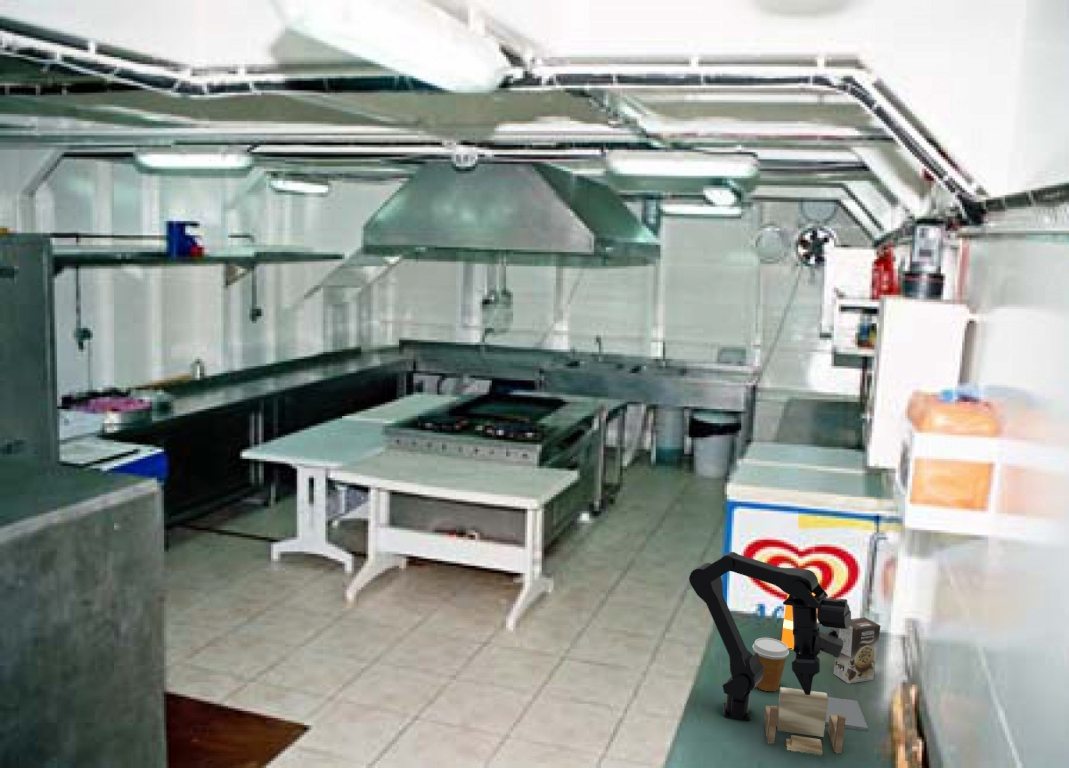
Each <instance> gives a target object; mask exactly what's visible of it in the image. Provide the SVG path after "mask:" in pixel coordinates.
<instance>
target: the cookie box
mask: <svg viewBox="0 0 1069 768" xmlns="http://www.w3.org/2000/svg"><path fill="white" fill-rule="evenodd" d="M838 632H839V633H838V637H839V638H842V640H843V648H842V651H841V654H840V657H839V658H837V657H835V659H834V667H833V675H835V676H836V677H838V678H840V679H841V680H842V681H843V682H845V683H846V684H850V685H851V684H855V683H861V682H867V681H873V680H874V675H875V669H876V660H877V652H878V646H879V640H880V632H881V625H880V624H879V623H876V622H874V621H872V620H870V619H868V618H866V617H859V618H858V617H857V618H851V623H850V627H849V629H840V628H839V631H838Z"/></svg>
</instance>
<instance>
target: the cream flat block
mask: <svg viewBox="0 0 1069 768" xmlns="http://www.w3.org/2000/svg"><path fill="white" fill-rule="evenodd" d="M828 697H829V695H828V694H827V692H822V691H814V690H811V693H810V695H805V693H804V691H803V689H801V688H800V689H799V688H792V687H784V686H779V695H778V705H777V707H778V714H777V723H776V726H777V727H776V730H779V731H778V732H783V733H784V732H785V733H786V732H787V733H791V734H793V733H794V734H799V735H807V736H814V737H815V736H816V737H823V738H824V736H825V729H826V728H825V727H826V725H825V721H826V713H827V705H828Z"/></svg>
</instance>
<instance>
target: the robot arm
mask: <svg viewBox="0 0 1069 768" xmlns="http://www.w3.org/2000/svg"><path fill="white" fill-rule="evenodd" d="M728 572H732V573H736V574H738V575H742V576H745V577H748V578H752V579H754V580H758V581H760V582H764V583H767V584H770V585H773V586H774V587H777V588H779V589H780V590H781V591H782V592H783V593H785V594H787V595H788V594H789V597H788V598H787V597H786V599H785V600H784V601H783V602H782V604H783V606H786V605H790V606H792V616H793V637H794V647H793V648H794V650H793V652H794V655H793V656H792V657H791V671H792V672H793V673H794V675H795V677H796V679H797V680H798V683H799V685H800V687H801V690H803V691H804V693H805V695H810V693H811V691H812V686H813V682H814V681H813V680H814V676H816V675H817V674H819V673H820V672H821V666H820V665H821V664H820V663H821V662H820V657H818V655H819V654H821V652H823V653H825V654H828V655H831V656H832V657H834V658H836V657H837V658H839V657H840V654H841V651H842V648H843V640H842V638H839V633H838V632H839V631H838V630H836V629H839V630H840V629H849V627H850V623H851V619H852V610H850V609H851V607H850V606H849V604H848V599H846V598H838V599H837V598H831V597H829V594H828V593H827V592H826V591H825V589H824V588H823V587H822V585H821V584H820V583H819V579H818V577H817V576H816V574H815V572H814V571H813V570H810V569H806V568H799V567H781V566H777V565H774V564H771V563H767V562H764V561H761V560H758V559H754V558H751V557H748V556H744V555H741V554H739V553H737V552H734V551H730V552H727V553H726V554H725V555H723V556H722V557H721V558H718V559H717V560H716V561H714V562H712V563H711V562H704V563H703V564H701V565H700V566H697V567H696V568H695V569H692V571H691V572H690V573H689V577H688V581H689V584H690V586H691V588H692V589H693V591H694V592H695V594H696V596H697V597H698V598H700V600H702V601H703V602H704V603H705V604H706V607H707V608H708V611H709V613H710V615H711V619H712V621H713V622H714V625H715V627H716V630H717V631H718V633H719V636H720V638H721V641H722V643H723V645H724V648H725V650H726V653H727V654H728V657H729V670H730V675H731V676H730V677H729V678H728V679H727V680H726V681H725V682H724V683H723V684H722V690H723V693H724V694H725V695H726V699H725V702H723V703H722V710H723V711H722V712H723V716H724V718H731V719H736V720H737V719H738V720H743V721H744V720H746V721H751V712H750V711H751V710H750V699H751V691H753V690H754V688H756V685H757V684H758V683H759V682H760V681H761V680H762V678H763V675H764V672H763V668H764V666H763V665H762V663H761V662H760V659H759V655H758V653H755V654H754V653H751V652H750V650H748V649H747V646H746V645H745V642H744V640H743V637H742V636H741V634H740V631H739V628H738V627H737V624H736V622H735V619H734V617H733V615H732V613H731V611H730V608H729V606H728V603H727V602H726V599H725V597H724V589H723V588H724V584H723V580H722V576H723V575H725V574H727V573H728ZM812 593H814V594H815V596H813V594H812ZM817 619H818V624H819V625H821V626H822V627H826V628H831V629H829V631H825V632H822V631H820V626H819V625H818V624H817Z"/></svg>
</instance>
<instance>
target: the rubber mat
mask: <svg viewBox="0 0 1069 768" xmlns="http://www.w3.org/2000/svg"><path fill="white" fill-rule="evenodd" d="M830 714H831V715H836V716H837V719H838V714H839V715H845V718H846V721H845V729H850V730H852V729H853V730H859V731H866V732H868V729H869V727H868V724H867V723H866V719H865V717H864V715H863V712H862V709H861V706H860V705H859V701H858V700H853V699H845V698H837V697H832V696H828V705H827V713H826V721H825V726H828V727H829V719H830Z"/></svg>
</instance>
